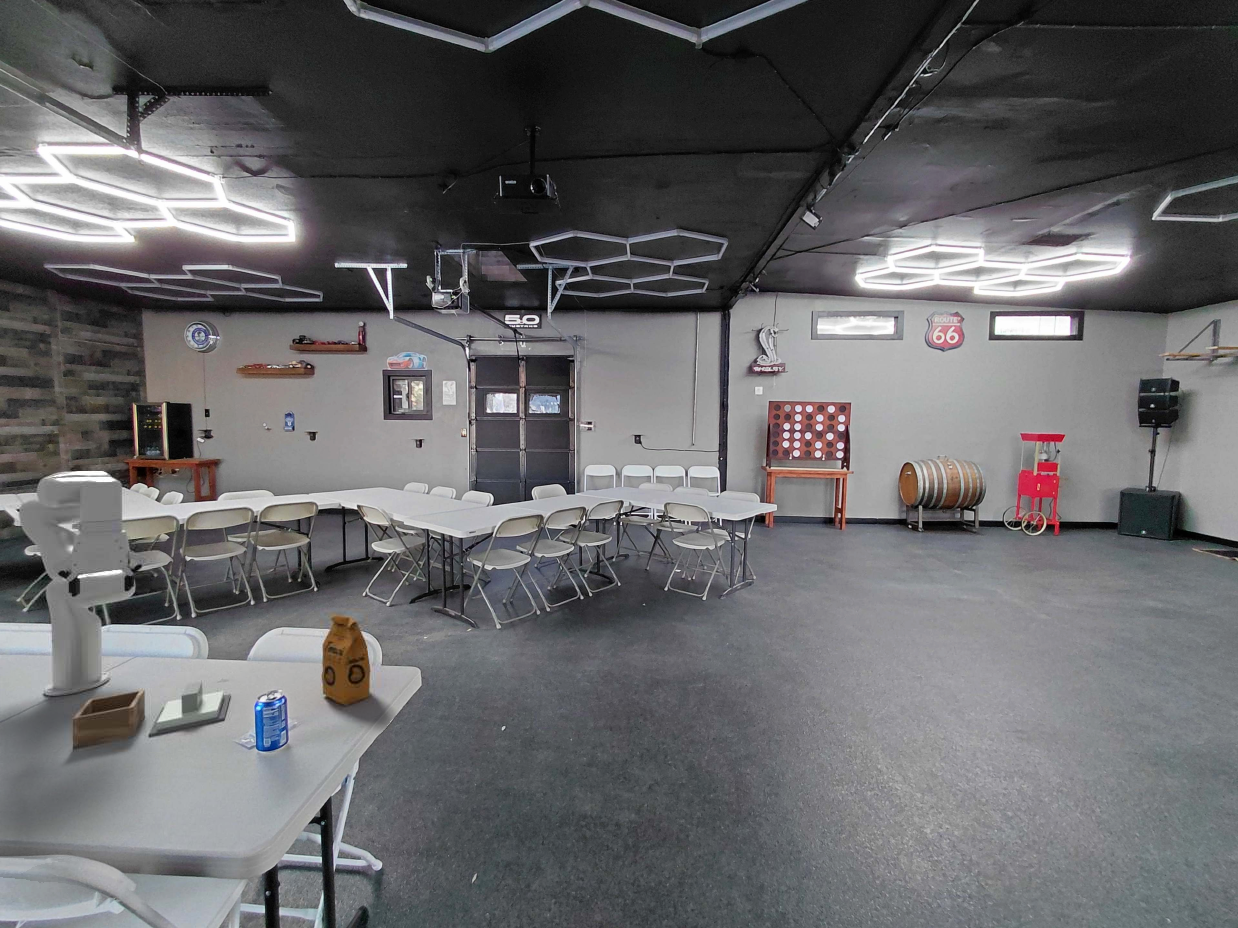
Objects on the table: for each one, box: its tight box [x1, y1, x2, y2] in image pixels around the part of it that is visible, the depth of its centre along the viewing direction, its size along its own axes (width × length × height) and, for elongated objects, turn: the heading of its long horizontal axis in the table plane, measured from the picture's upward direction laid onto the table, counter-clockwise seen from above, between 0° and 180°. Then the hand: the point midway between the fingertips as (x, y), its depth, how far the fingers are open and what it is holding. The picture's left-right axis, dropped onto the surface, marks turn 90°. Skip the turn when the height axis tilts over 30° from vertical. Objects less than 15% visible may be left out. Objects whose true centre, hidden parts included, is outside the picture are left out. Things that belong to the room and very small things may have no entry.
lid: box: [157, 681, 225, 730], centre depth 127 cm, size 11×11×6 cm
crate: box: [71, 689, 146, 750], centre depth 118 cm, size 10×10×7 cm
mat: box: [148, 693, 231, 737], centre depth 127 cm, size 14×14×1 cm
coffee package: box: [321, 614, 371, 706], centre depth 137 cm, size 10×12×22 cm
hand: (102, 592), depth 128 cm, fingers open, 9 cm apart
